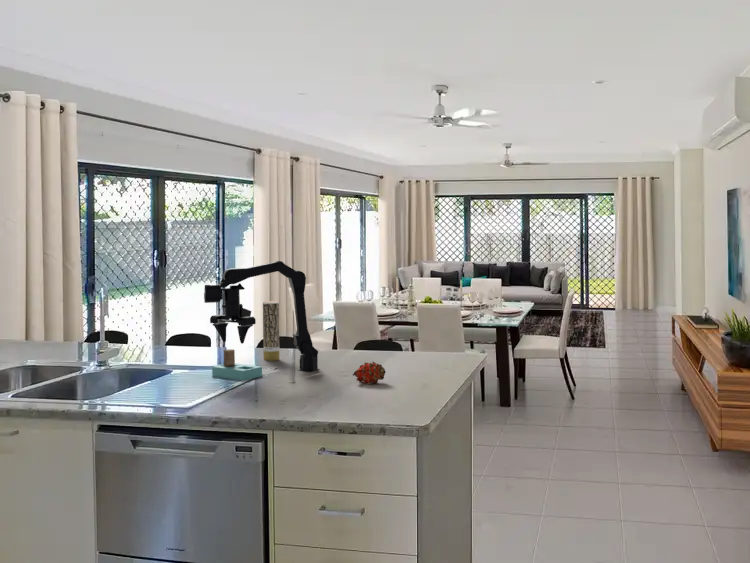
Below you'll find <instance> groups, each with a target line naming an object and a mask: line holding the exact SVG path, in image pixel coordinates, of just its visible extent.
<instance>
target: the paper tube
mask: <svg viewBox="0 0 750 563" xmlns="http://www.w3.org/2000/svg"><path fill="white" fill-rule="evenodd" d="M262 337H263V338H262V340H263V341H262V342H263V344H262V345H263V347H262V348H263V360H264V361H268V362H269V361H270V362H275V361H279V360H280V302H279V301H275V300H270V301H268V300H267V301H262Z"/></svg>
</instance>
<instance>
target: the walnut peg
mask: <svg viewBox="0 0 750 563" xmlns="http://www.w3.org/2000/svg"><path fill="white" fill-rule="evenodd" d="M235 350H236V349H233V348H231V349H224V350H223V364H224V367H234V366H235V363H236V361H235V360H236V359H235V358H236V357H235V354H236V353H235V352H236V351H235Z"/></svg>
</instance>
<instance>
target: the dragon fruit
mask: <svg viewBox="0 0 750 563" xmlns="http://www.w3.org/2000/svg"><path fill="white" fill-rule="evenodd" d="M386 373H387V372H386V369H385V367H383V365H382V364H381V363H376V362H374V361H372V362H370V363H369V362H364V363H363V364H361V365H359V367H358V368H357V369H356V370H354V372H353V373H352V377H354V376H355V377H356V381H357V382H359V383H360V384H363V385H364V384H365V385H366V384H368V385H371V384H378V382H379V380H381V381H382V380H384V379H385V377H384V376H385V374H386Z"/></svg>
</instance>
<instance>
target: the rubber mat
mask: <svg viewBox="0 0 750 563" xmlns="http://www.w3.org/2000/svg"><path fill="white" fill-rule="evenodd" d="M278 372H282V370H280V369H272V368H265V367H264V368H263V367H262V376H265V375H269V374H274V373H278Z"/></svg>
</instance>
